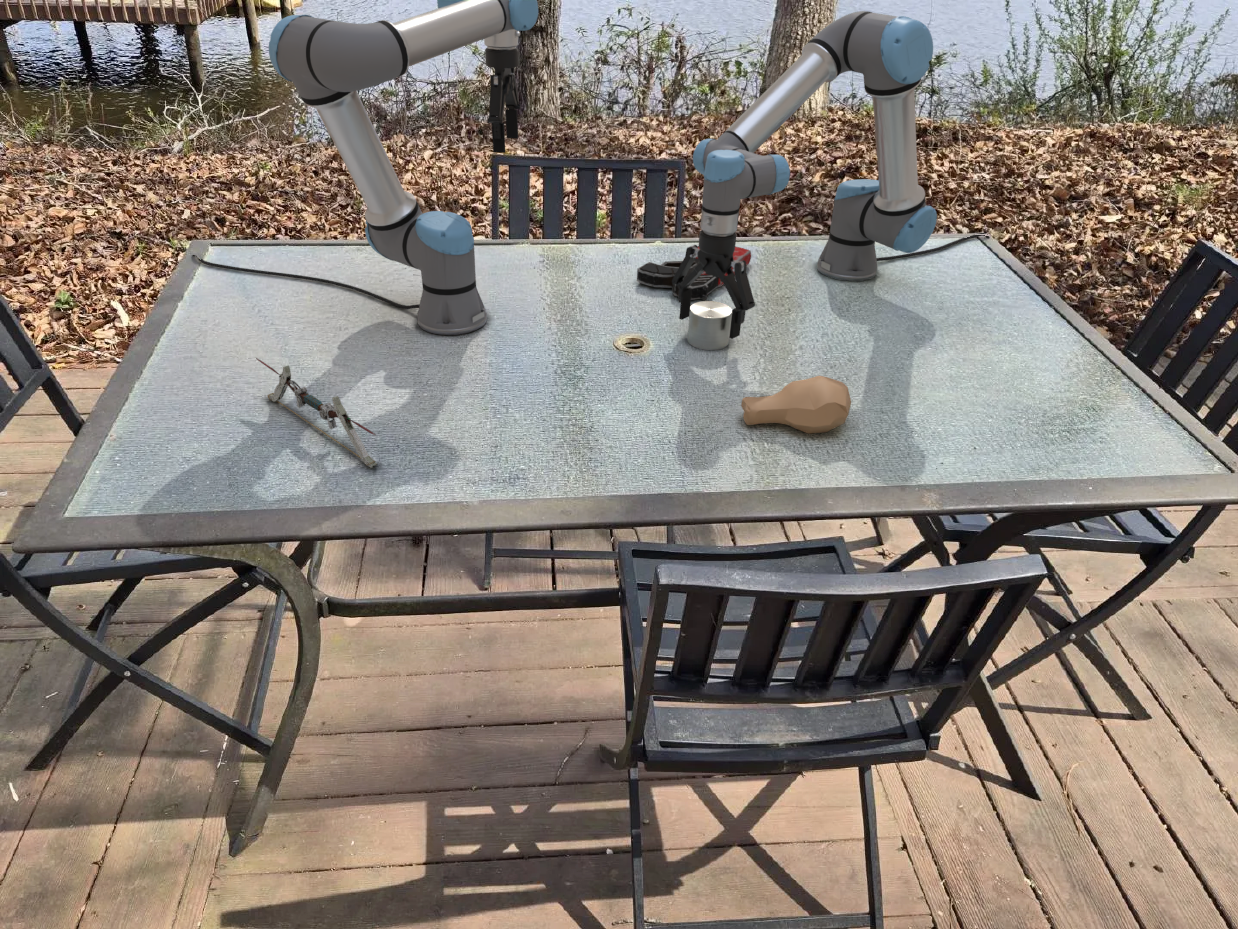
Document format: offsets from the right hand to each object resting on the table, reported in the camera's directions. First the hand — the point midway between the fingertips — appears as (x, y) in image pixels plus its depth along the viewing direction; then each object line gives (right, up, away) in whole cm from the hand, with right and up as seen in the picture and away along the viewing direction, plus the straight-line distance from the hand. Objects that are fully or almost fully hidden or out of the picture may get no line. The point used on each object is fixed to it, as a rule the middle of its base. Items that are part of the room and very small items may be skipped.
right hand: (709, 327), depth 190 cm
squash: (+13, -22, -27) cm, 37 cm away
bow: (-73, -24, -33) cm, 84 cm away
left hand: (-46, +46, +18) cm, 68 cm away
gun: (0, +18, +33) cm, 38 cm away
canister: (0, -3, +2) cm, 3 cm away
